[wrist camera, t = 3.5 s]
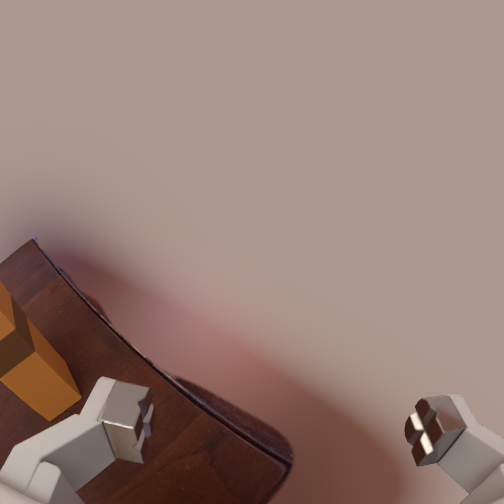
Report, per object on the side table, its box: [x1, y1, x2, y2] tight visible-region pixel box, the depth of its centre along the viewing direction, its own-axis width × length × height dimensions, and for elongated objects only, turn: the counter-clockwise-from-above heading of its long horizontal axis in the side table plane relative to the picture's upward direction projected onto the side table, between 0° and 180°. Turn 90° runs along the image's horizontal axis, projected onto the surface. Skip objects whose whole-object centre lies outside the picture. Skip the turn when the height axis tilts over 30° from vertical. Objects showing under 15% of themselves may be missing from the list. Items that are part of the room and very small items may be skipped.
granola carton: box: [0, 281, 82, 421], centre depth 19 cm, size 5×4×11 cm
